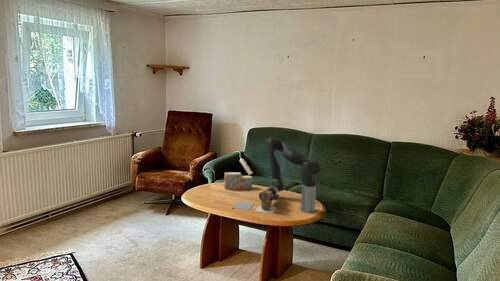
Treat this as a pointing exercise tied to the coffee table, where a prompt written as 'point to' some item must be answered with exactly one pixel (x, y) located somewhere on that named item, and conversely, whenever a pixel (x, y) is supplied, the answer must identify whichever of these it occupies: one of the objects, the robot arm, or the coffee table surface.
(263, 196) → the walnut block
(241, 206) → the grey mat
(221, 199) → the coffee table surface
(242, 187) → the stack of blocks
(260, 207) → the white tile
